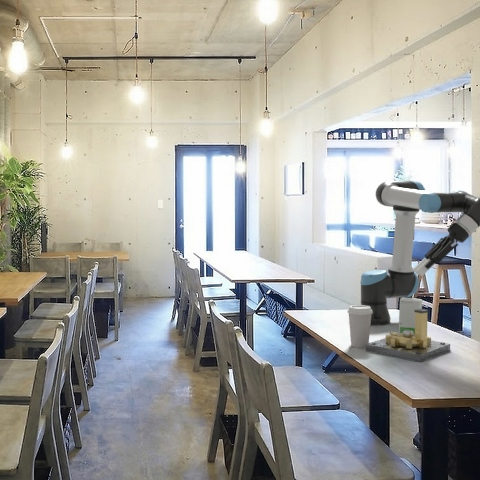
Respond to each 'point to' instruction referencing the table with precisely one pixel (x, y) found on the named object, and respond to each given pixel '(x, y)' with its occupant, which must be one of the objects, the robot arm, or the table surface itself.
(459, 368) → the table surface
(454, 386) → the table surface
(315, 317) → the table surface
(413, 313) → the skincare box
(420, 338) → the brass gear wheel
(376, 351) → the steel plate
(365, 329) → the coffee cup
